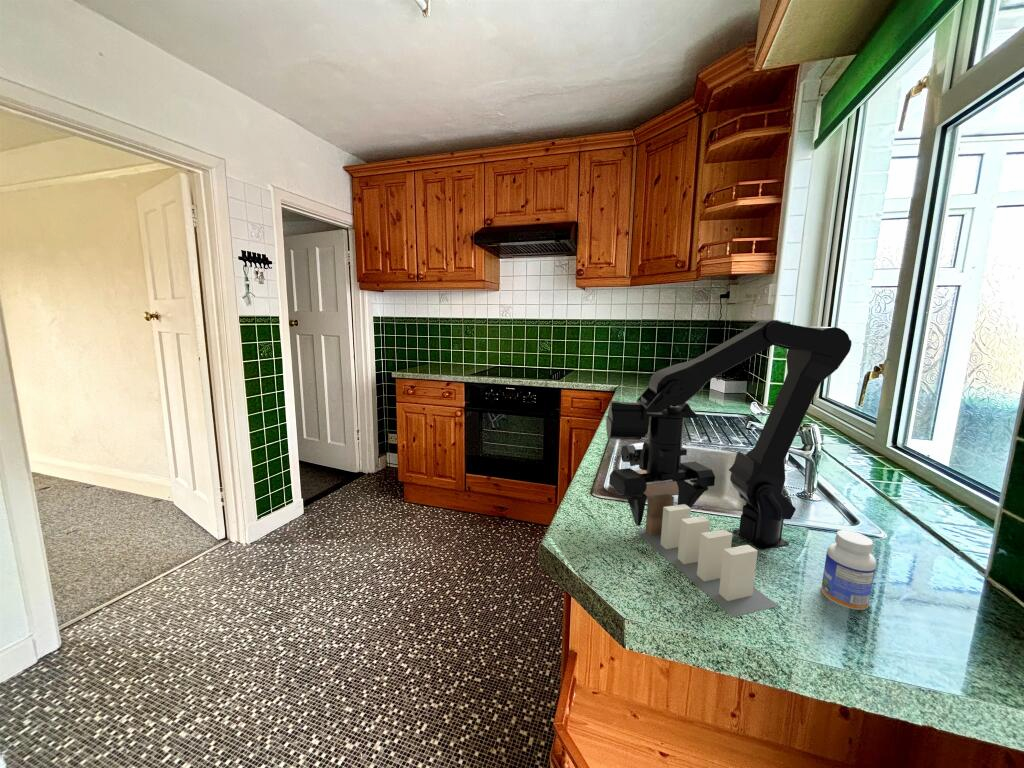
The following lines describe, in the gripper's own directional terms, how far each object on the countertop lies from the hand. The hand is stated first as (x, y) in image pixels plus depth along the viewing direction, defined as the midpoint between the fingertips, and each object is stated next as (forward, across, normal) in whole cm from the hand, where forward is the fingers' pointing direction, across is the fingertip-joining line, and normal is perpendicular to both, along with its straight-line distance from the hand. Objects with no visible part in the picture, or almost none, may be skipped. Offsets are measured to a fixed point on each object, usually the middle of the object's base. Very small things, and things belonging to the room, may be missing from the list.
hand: (659, 521), depth 75 cm
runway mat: (+2, 0, +10) cm, 10 cm away
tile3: (+2, 0, +9) cm, 9 cm away
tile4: (+2, 0, +14) cm, 14 cm away
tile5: (+2, 0, +18) cm, 18 cm away
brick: (+3, -11, -17) cm, 21 cm away
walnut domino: (+2, 0, 0) cm, 2 cm away
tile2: (+2, 0, +4) cm, 5 cm away
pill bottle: (+3, -15, +22) cm, 27 cm away
